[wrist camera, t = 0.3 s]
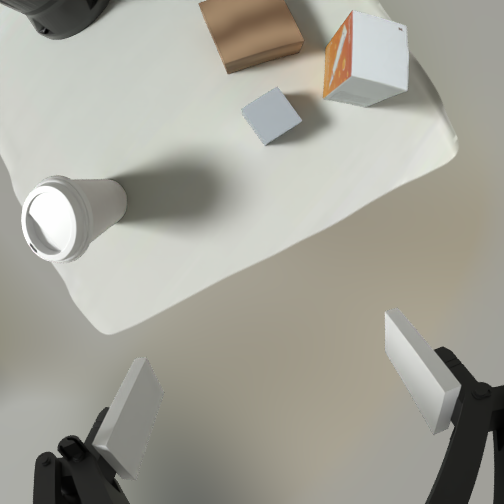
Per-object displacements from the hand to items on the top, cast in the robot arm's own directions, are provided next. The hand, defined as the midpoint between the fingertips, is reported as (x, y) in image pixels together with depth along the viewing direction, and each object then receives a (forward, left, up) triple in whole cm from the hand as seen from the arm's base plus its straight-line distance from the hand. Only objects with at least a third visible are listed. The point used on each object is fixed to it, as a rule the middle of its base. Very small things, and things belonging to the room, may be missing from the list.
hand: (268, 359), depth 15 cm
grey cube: (-14, +6, -27) cm, 31 cm away
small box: (-17, +18, -28) cm, 37 cm away
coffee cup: (-12, -19, -27) cm, 35 cm away
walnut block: (-27, +8, -28) cm, 39 cm away
